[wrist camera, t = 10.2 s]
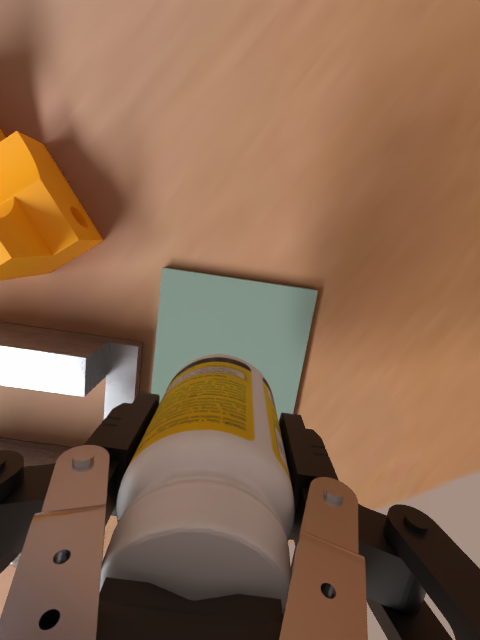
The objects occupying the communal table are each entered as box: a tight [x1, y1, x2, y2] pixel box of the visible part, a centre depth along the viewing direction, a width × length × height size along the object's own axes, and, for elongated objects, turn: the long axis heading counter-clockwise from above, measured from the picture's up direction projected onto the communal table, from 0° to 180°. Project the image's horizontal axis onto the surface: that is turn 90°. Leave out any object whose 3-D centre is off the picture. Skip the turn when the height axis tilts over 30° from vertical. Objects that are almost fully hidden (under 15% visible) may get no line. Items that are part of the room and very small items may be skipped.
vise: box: [0, 322, 143, 567], centre depth 22 cm, size 14×18×4 cm
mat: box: [151, 267, 318, 422], centre depth 22 cm, size 10×10×1 cm
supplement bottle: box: [100, 354, 295, 612], centre depth 10 cm, size 5×5×8 cm
